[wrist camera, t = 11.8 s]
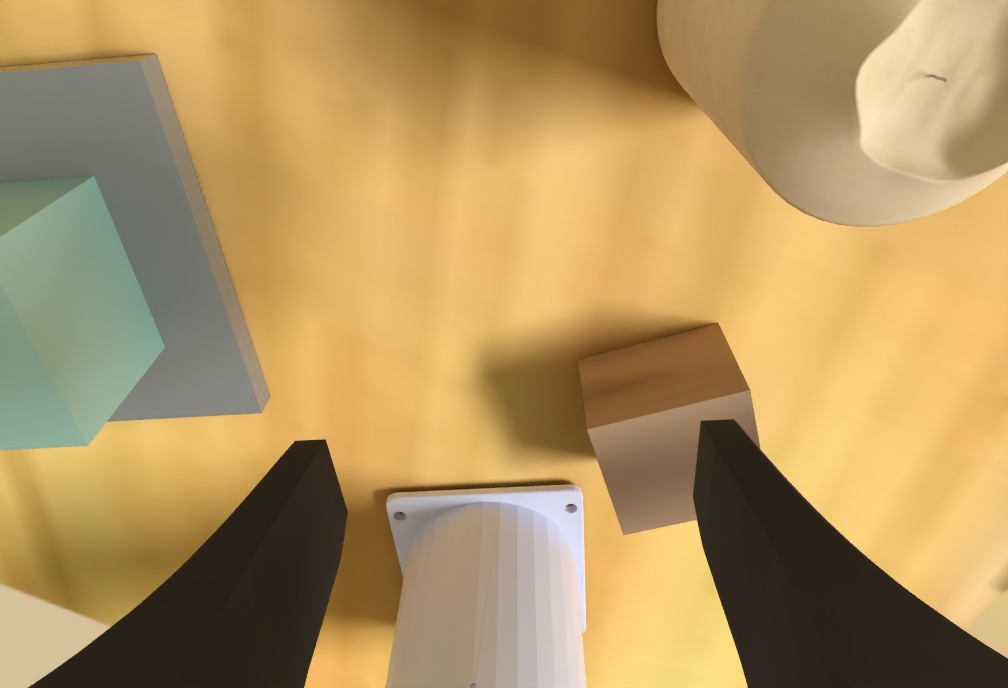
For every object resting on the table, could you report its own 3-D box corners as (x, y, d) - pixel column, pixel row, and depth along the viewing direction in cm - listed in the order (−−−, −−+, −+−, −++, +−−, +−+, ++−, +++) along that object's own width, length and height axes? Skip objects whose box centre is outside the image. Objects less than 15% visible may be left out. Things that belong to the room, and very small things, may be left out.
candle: (621, 72, 19) (702, 207, 11) (711, -160, 16) (918, -223, 8) (795, 133, 20) (996, 301, 12) (911, -78, 17) (1288, -55, 9)
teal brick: (165, 347, 23) (87, 445, 19) (52, 353, 23) (-50, 452, 19) (93, 175, 20) (-19, 249, 16) (-37, 185, 20) (-181, 260, 16)
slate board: (270, 396, 26) (261, 413, 25) (39, 409, 26) (23, 426, 25) (156, 53, 19) (139, 60, 18) (-149, 79, 20) (-178, 87, 19)
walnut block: (737, 426, 26) (770, 504, 23) (610, 456, 27) (623, 535, 24) (717, 320, 24) (750, 390, 20) (577, 357, 25) (586, 429, 21)
